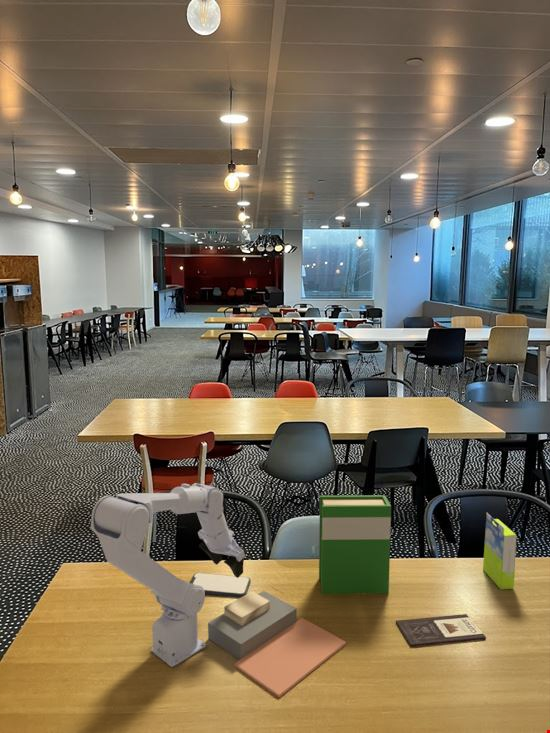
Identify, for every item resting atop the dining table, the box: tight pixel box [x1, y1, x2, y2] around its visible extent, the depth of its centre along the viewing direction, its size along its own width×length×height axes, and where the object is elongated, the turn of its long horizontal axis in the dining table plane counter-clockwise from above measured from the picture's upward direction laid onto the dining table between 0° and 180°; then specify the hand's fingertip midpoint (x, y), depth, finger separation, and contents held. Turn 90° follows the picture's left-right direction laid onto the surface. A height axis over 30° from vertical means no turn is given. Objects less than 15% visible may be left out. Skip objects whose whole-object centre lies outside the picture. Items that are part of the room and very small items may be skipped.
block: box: [207, 590, 298, 661], centre depth 124 cm, size 18×11×4 cm, turn 136°
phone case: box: [189, 572, 252, 599], centre depth 144 cm, size 9×2×16 cm
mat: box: [233, 617, 347, 698], centre depth 116 cm, size 22×13×1 cm, turn 136°
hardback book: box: [318, 494, 392, 595], centre depth 142 cm, size 18×7×24 cm, turn 91°
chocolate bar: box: [395, 613, 487, 648], centre depth 125 cm, size 9×1×18 cm
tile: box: [223, 591, 270, 626], centre depth 125 cm, size 9×6×2 cm, turn 136°
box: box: [482, 512, 517, 590], centre depth 146 cm, size 10×4×17 cm, turn 4°
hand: (228, 568), depth 132 cm, fingers open, 7 cm apart
